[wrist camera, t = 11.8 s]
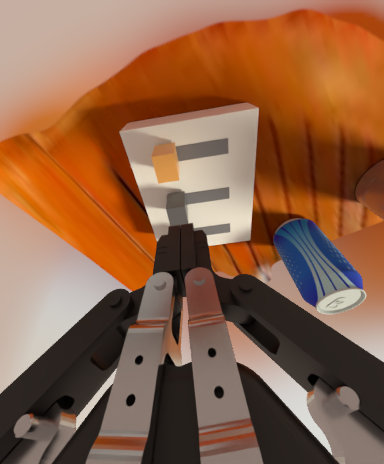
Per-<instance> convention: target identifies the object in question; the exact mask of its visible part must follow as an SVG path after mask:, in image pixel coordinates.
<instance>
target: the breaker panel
mask: <svg viewBox="0 0 384 464" xmlns="http://www.w3.org/2000/svg"><path fill="white" fill-rule="evenodd" d="M258 115H259V108H258V107H256V106H254V105H252V104H250V103H248V102H246V103H240V104H234V105H228V106H223V107H217V108H211V109H205V110H199V111H194V112H188V113H182V114H176V115H170V116H165V117H159V118H153V119H147V120H141V121H135V122H130V123H127V124H126V125H125V126H124V127H123V128H122V129H121V130H120V131H119V133H120V136H121V139H122V141H123V144H124V147H125V150H126V153H127V156H128V159H129V162H130V165H131V167H132V170H133V173H134V176H135V179H136V182H137V185H138V188H139V191H140V193H141V196H142V199H143V202H144V205H145V208H146V211H147V214H148V217H149V219H150V222H151V225H152V228H153V231H154V234H155V237H156V240H157V241H158V240H159V238H160V237H161V235H168V228H169V226H170V223H169V219H168V215H167V212H166V204H167V194H169V193H176V192H182V191H184V192H185V197H186V202H187V208H188V223H193V226H194V231H197V230H203V231H204V232H205V234H206V235H207V241H208V246H212V245H219V244H226V243H234V242H241V241H249V240H250V238H251V222H252V207H253V192H254V176H255V161H256V146H257V131H258ZM174 142H175V146H176V151H177V157H178V162H179V181H172V182H166V183H159V184H158V180H157V177H156V173H155V169H154V166H153V162H152V158H151V156H152V153H153V150H154V147H155V146H156V145H162V144H168V143H174Z"/></svg>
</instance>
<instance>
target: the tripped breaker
mask: <svg viewBox="0 0 384 464" xmlns="http://www.w3.org/2000/svg"><path fill="white" fill-rule="evenodd" d="M151 158H152V162H153V166H154V169H155V173H156V177H157V180H158V184H159V183H166V182H172V181H179V162H178V157H177V151H176V146H175V142H174V143H168V144H162V145H156V146H155V147H154V150H153V153H152V156H151Z"/></svg>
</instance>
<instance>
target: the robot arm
mask: <svg viewBox="0 0 384 464" xmlns="http://www.w3.org/2000/svg"><path fill="white" fill-rule="evenodd" d="M355 196H356V199H357V200H358V201H359V202H360V203H362V204H363V205H364V206H366V207H367V208H368V209H370V210H371V211H372V212H374V213H375V214H376V215H378V216H379V217H380V218H382V219H383V220H384V160H382V161H380V162H378V163H377V164H375V165H374V166H373V167H371V168H370V169H369V170H368V171H367V172H366V173H365V174H364V175H363V177H362V178H361V179H360V181H359V183H358V184H357V187H356V190H355ZM183 297H187V305H188V315H189V320H188V329H189V338H190V349H191V358H192V362H190V363H188V364H185V365H183V366H182V356H181V335H182V320H183ZM225 320H226V321H230V322H233V323H234V325H235V326H236V327H237V328H239V329H240V330H241V331H242V332H243V333H244V334H245V335H246V336H247V337H248V338H249V339H250V340H252V341H253V342H254V343H255V344H256V345H257V346H258V347H259V348H260V349H261V350H262V351H264V352H265V353H266V354H267V355H268V356H269V357H270V358H271V359H272V360H273V361H275V363H277V364H278V365H279V366H280V367H281V368H282V369H283V370H284V371H285V372H286V373H287V374H289V375H290V376H291V377H292V378H293V379H294V380H295V381H296V382H297V383H298V384H299V385H301V386H302V387H303V388H304V389H305V390H306V391H307V392H308V394H307V406H308V410H309V412H310V414H311V416H312V418H313V420H314V421H315V423H316V424H317V425H318V426H319V427H320V429H321V430H322V431H323V433H324V434H325V436H326V438H327V440H328V442H329V444H330V447H331V450H332V455H333V456H332V455H331V454H330V453H329V452H328V450H327V449H326V448H325V447H324V446H323V445H322V444H321V443H320V442H319V441H318V440H317V438H316V437H314V435H313V434H312V433H311V432H310V431H309V430H308V429H307V428H306V426H305V425H304V424H303V423H302V422H301V421H300V420H299V419H298V418H297V417H296V416H295V414H294V413H293V412H292V411H291V410H290V409H289V408H288V407H287V406H286V405H285V403H284V402H283V401H282V400H281V399H280V398H279V397H278V396H277V395H276V394H275V393H274V391H273V390H272V389H271V388H270V387H269V386H268V385H267V384H266V383H265V382H264V381H263V379H262V378H261V377H260V376H259V375H257V374H256V373H255V372H254V371H253V370H251V369H249V368H248V367H246V366H245V365H243V364H240V363H238V362H236V360H235V356H234V352H233V348H232V344H231V340H230V336H229V333H228V328H227V324H226V321H225ZM117 367H118V368H117ZM116 368H117V372H116V375H115V379H114V383H113V384H112V385H111V386H110V387H109V388H108V389H107V391H106V392H105V393H104V394H103V396H102V397H101V398H100V400H99V401H98V403H97V404H96V405H95V406H94V408H93V409H92V410H91V412H90V413H89V414H88V416H87V417H86V418H85V420H84V421H83V422H82V424H81V425H80V427H79V428H78V429H77V430H76V417H77V416H78V415H79V414H80V412H81V411H82V410H83V409H84V408H85V406H86V405H87V404H88V402H89V401H90V400H91V399H92V398H93V396H94V395H95V394H96V393H97V391H98V390H99V389H100V388H101V387H102V385H103V384H104V383H105V382H106V380H107V379H108V378H109V377H110V376H111V374H112V373H113V372H114V371H115V369H116ZM0 464H384V362H382V361H381V360H379V359H378V358H376V357H375V356H373V355H371V354H370V353H368V352H367V351H365V350H364V349H362V348H361V347H359V346H358V345H356V344H355V343H353V342H352V341H350V340H349V339H347V338H346V337H344V336H343V335H341V334H340V333H338V332H337V331H335V330H334V329H332V328H331V327H329V326H327V325H326V324H325V323H323V322H322V321H320V320H319V319H317V318H316V317H314V316H313V315H311V314H310V313H308V312H307V311H305V310H304V309H302V308H301V307H299V306H298V305H296V304H295V303H293V302H291V301H290V300H289V299H287V298H285V297H284V296H282V295H281V294H280V293H278V292H277V291H275V290H274V289H272V288H270V287H269V286H268V285H266V284H265V283H263V282H262V281H260V280H258V279H257V278H255V277H254V276H252V275H248V274H241V275H238V276H236V277H234V278H233V279H227V278H222V277H220V276H218V275H217V274H215V273H214V271H213V270H212V267H211V261H210V254H209V248H208V241H207V235H206V234H205V232H204V231H203V230H197V231H194V226H193V223H188V224H181V225H174V226H169V228H168V235H161V237H160V238H159V240H158V241H157V249H156V255H155V262H154V269H153V275H152V276H151V277H150V278H149V279H148V281H147V283H146V285H145V286H144V287H142V288H140V289H138V290H135V291H133V292H131V293H129V292H128V291H126V290H125V289H116V290H114V291H112V292H110V293H109V294H107V295H106V296H105V297H104V298H103V299H102V300H101V301H100V302H99V303H98V304H97V305H95V306H94V307H93V308H92V309H91V310H90V311H89V312H88V313H87V314H86V315H85V316H84V317H83V318H81V319H80V320H79V322H77V323H76V324H75V325H74V326H73V327H72V328H71V329H70V330H69V331H68V332H66V334H64V335H63V336H62V337H61V338H60V339H59V340H58V341H57V342H56V343H55V344H54V345H53V346H51V347H50V348H49V349H48V350H47V351H46V352H45V353H44V354H43V355H42V356H41V357H40V358H38V359H37V360H36V361H35V362H34V363H33V364H32V365H31V366H30V367H29V368H28V369H27V370H26V371H25V372H24V373H22V374H21V375H20V376H19V377H18V378H17V379H16V380H15V381H14V382H13V383H12V384H10V386H8V387H7V388H6V389H5V390H4V391H3V392H2V393H1V394H0Z"/></svg>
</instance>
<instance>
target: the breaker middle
mask: <svg viewBox="0 0 384 464" xmlns="http://www.w3.org/2000/svg"><path fill="white" fill-rule="evenodd" d="M166 212H167V215H168V219H169V223H170V226H174V225H181V224H188V208H187V202H186V197H185V192H184V191H182V192H176V193H169V194H167V204H166Z"/></svg>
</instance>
